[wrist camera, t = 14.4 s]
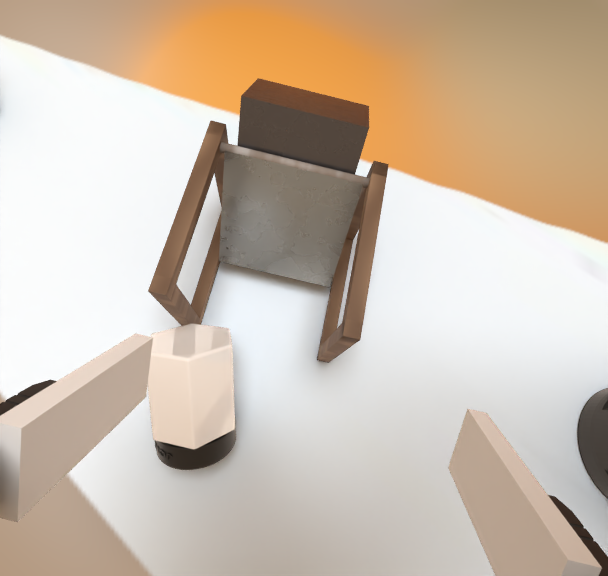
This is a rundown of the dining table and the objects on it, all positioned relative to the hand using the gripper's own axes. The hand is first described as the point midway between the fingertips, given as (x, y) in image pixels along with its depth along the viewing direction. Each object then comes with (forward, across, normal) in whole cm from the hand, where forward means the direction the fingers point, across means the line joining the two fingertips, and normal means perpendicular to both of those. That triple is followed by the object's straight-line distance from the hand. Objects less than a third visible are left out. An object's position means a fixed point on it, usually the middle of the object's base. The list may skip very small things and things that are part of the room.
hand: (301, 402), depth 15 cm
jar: (+20, -12, -7) cm, 24 cm away
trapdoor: (+33, -6, +11) cm, 36 cm away
